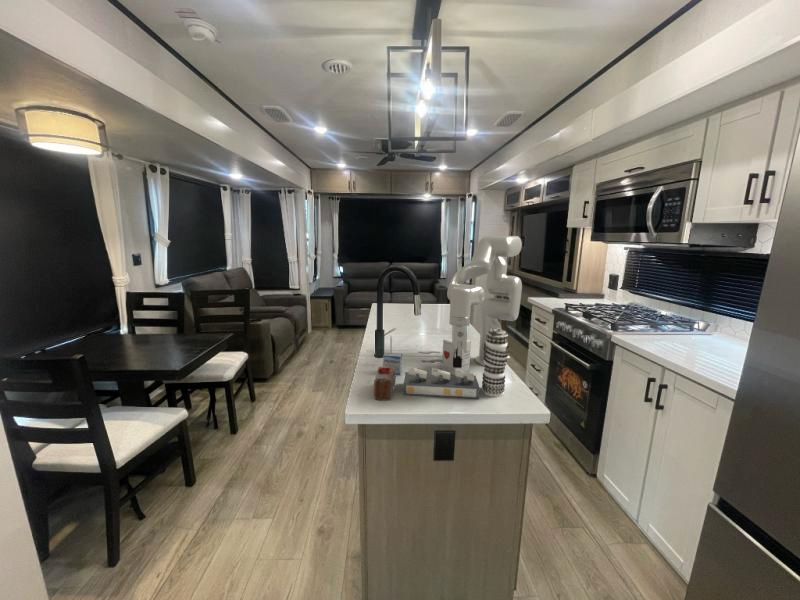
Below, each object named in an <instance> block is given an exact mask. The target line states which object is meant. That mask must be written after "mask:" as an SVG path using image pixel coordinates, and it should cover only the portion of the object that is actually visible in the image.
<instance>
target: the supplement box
mask: <svg viewBox="0 0 800 600" xmlns="http://www.w3.org/2000/svg"><path fill="white" fill-rule="evenodd" d="M442 341H443V342H442V345H443V346H442V360H441V361H442V363H441V364H442V366H441V367H442V368H441V370H442V371H446V372H449V373H450V374H455V370H456V369H458V370H461V371H465V372H469V373H470V364H471V363H470V362H471V346H472V340H470V339H468V338H467V352H466V353H465V352H464V351H463V348H462V367H461V368H454V367H453V356H454V351H453V347H452V336H451V337H445V338H443V340H442Z"/></svg>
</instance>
